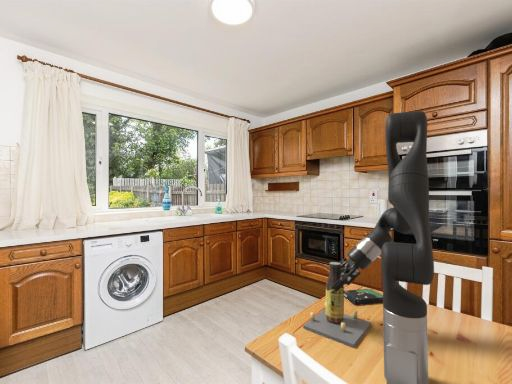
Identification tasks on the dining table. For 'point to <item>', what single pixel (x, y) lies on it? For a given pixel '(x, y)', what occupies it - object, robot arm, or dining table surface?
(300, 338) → the dining table surface
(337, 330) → the standoff mount
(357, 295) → the disk drive
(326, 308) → the sauce bottle
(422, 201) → the robot arm
